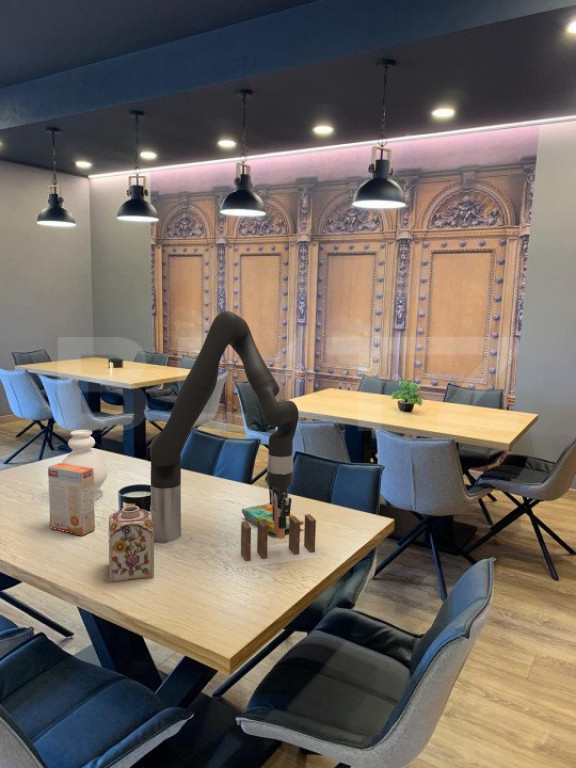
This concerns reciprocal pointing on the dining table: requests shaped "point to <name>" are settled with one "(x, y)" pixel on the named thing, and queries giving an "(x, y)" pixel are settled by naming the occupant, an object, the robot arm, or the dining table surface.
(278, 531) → the domino
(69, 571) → the dining table surface
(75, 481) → the cracker box
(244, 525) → the domino
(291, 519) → the domino
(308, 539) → the domino
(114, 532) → the decorative jar
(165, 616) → the dining table surface
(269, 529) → the puzzle game
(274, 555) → the mat
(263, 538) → the domino
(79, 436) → the decorative vase
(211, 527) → the dining table surface
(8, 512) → the dining table surface
